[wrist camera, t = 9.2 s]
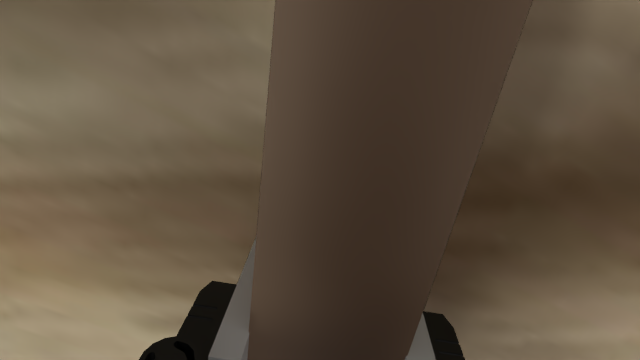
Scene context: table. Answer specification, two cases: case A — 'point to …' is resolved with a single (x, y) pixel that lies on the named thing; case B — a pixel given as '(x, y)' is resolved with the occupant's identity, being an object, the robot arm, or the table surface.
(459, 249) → the table surface
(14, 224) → the table surface
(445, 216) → the brown and grey bar
